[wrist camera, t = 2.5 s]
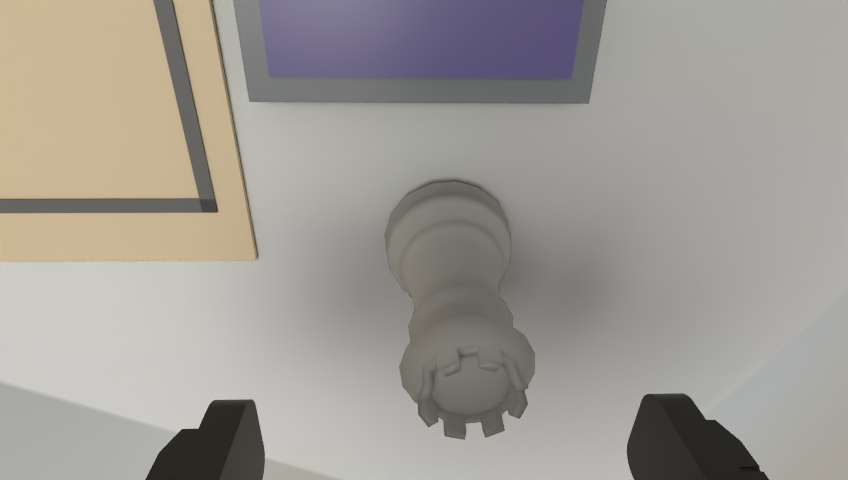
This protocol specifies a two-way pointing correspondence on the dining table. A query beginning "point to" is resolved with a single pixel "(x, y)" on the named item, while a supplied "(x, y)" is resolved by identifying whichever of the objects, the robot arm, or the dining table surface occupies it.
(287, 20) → the ink pad
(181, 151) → the marked card
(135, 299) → the dining table surface
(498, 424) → the rook chess piece
